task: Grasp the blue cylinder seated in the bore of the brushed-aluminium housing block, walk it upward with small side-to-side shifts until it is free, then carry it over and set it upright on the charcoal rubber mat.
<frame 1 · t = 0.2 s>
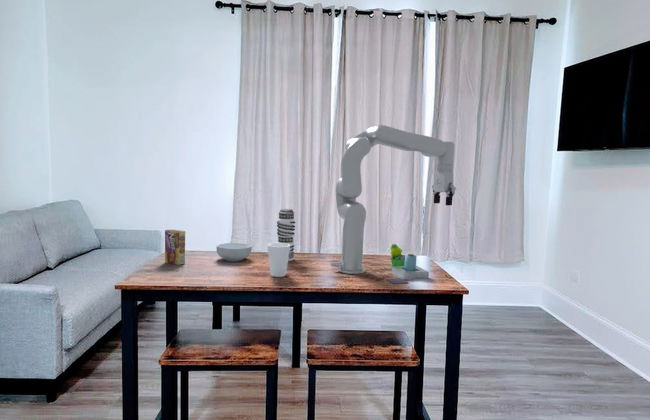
hand: (442, 204, 207), 31 cm above the table, fingers open, 9 cm apart
foam cup: (278, 275, 187), on the table
candy box: (175, 263, 201), on the table
mat: (396, 281, 183), on the table
housing: (409, 275, 193), on the table
decorative candle: (285, 259, 218), on the table
cereal bowl: (234, 260, 213), on the table
fruit basket: (398, 268, 208), on the table
blue cylinder: (410, 265, 193), in the housing
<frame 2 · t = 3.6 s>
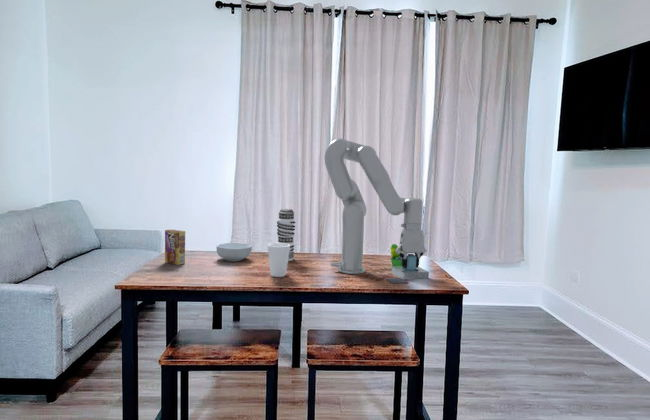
hand: (410, 266, 193), 4 cm above the table, fingers closed on blue cylinder, 5 cm apart
blue cylinder: (410, 265, 193), in the housing, touching gripper
everything else where it was.
when the fingers open (5 cm above the table, at t = 10.1 s): blue cylinder stays where it is, resting on mat.
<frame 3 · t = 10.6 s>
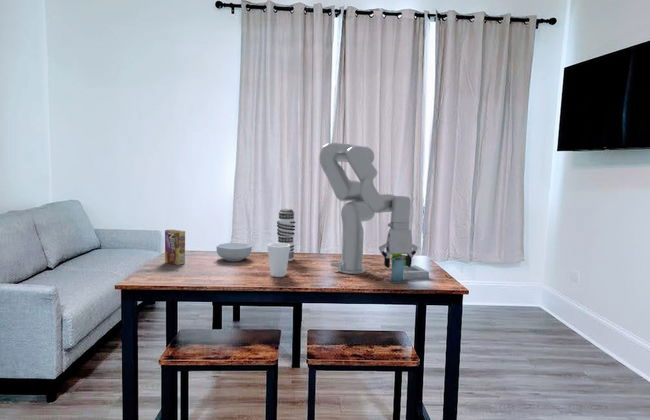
hand: (397, 266, 182), 6 cm above the table, fingers open, 9 cm apart
blue cylinder: (397, 269, 182), on the mat
everything else where it was.
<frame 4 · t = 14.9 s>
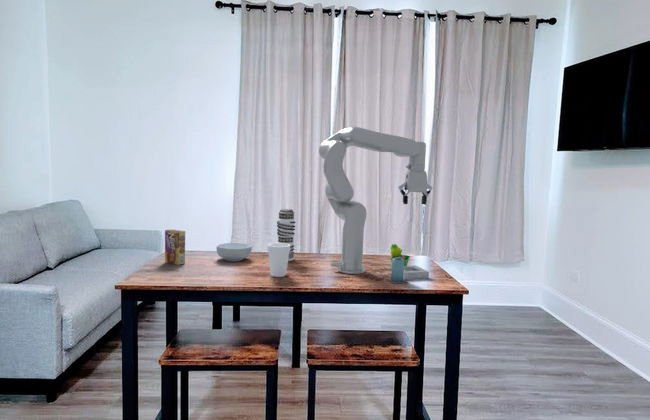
hand: (414, 204, 208), 30 cm above the table, fingers open, 9 cm apart
nothing on the table moved.
at the end: blue cylinder inside the target area (0.0 cm from its centre), resting on mat; blue cylinder tilted 0°; the gripper is holding nothing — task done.
